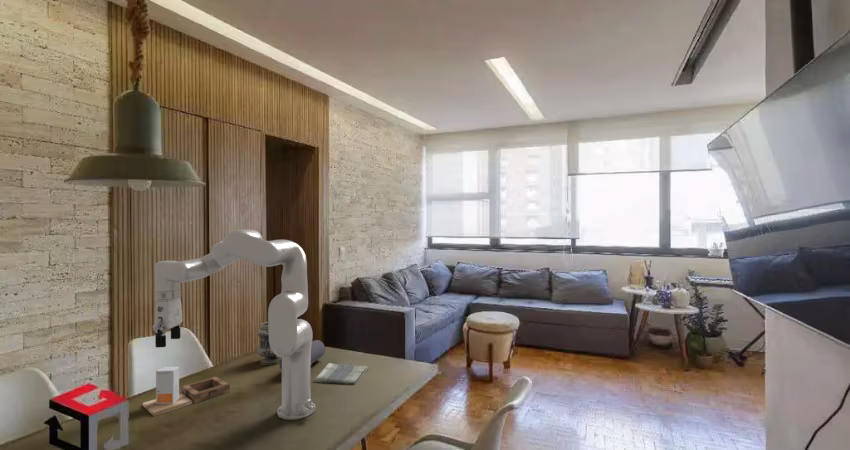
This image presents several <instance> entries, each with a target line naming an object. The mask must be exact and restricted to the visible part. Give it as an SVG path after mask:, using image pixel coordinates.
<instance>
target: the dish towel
mask: <svg viewBox="0 0 850 450" xmlns="http://www.w3.org/2000/svg"><path fill="white" fill-rule="evenodd" d="M368 370H369V367H368V366H367V365H356V364H352V363H351V364H348V363H342V362H341V363H340V362H339V363H338V364H336V363H331V362H328V363H327V364H326V366H325V367H324V368H323V369H322V370H321V371H320V372H319V374H318V375H317V376H316V377H315V378H314V383H318V382H319V383H318V384H321V383H322V384H334V385H335V384H336V385H347V384H348V386H349V385H352V386H355V385H356V384H357V383H358V382H359V381H360V380H361V379H362V378H363V377H364V375H365V374H366V373H367V372H368ZM358 380H359V381H358ZM357 381H358V382H357Z"/></svg>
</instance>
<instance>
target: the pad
mask: <svg viewBox="0 0 850 450" xmlns="http://www.w3.org/2000/svg"><path fill="white" fill-rule="evenodd" d="M192 404H193V402H192V401H191V400H190V399H189V398H187V397H186V396H185V395H183V394H182V391H181V392H180V391H179V399H178V400H177V401H176V402H175V403H174V404H156V398H155V399H151V400H148V401H145V402H142V406H143V408H145V409H146V411H148V412H149V413H150V414H151V415H152V416H153V417H156V416H159V415H161V414H165V413H168V412H171V411H174V410H177V409H180V408H184V407H186V406H189V405H192Z"/></svg>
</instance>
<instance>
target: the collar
mask: <svg viewBox="0 0 850 450" xmlns="http://www.w3.org/2000/svg"><path fill="white" fill-rule="evenodd" d="M230 387H231V385H230V383H228V382H226V381H224V379H221V378H219V377H218V376H212V377H207V378H204V379H202V380H198V381H194V382H191V383H188V384H183V385H181V393H182V394H183V395H185V396H186V397H187V398H189V399H190V400H191V401H192V403H194V404H196V403H199V402H203V401H206V400H209V399H213V398H216V397H218V396H222V395H224V394H228V393H230V390H231V388H230Z"/></svg>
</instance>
